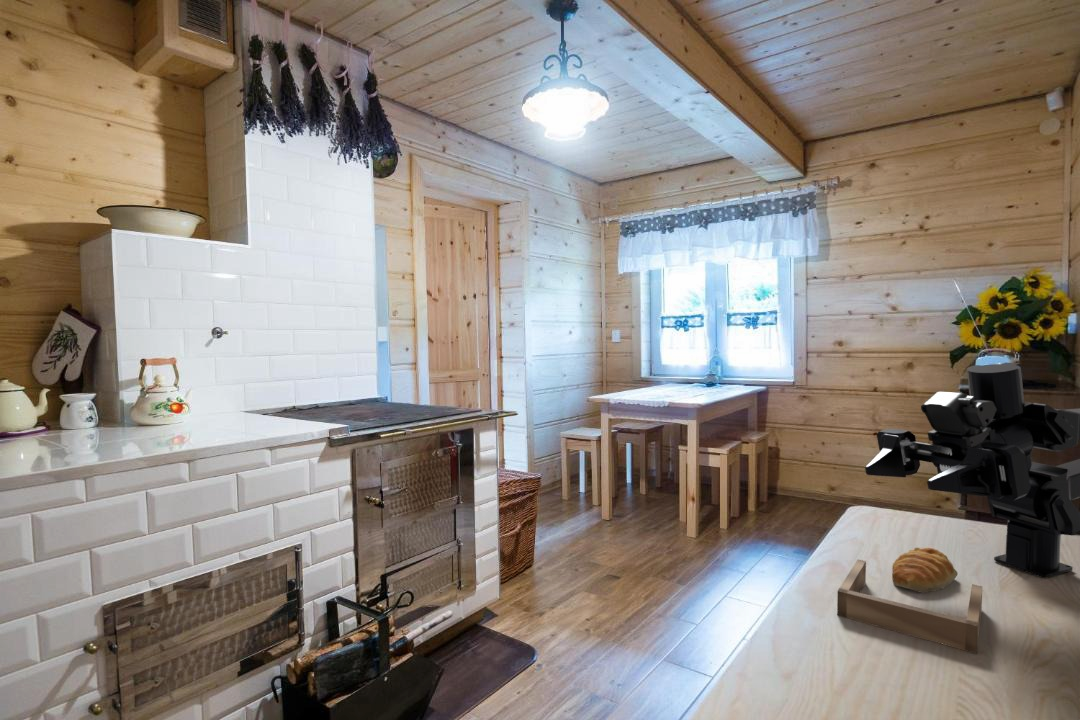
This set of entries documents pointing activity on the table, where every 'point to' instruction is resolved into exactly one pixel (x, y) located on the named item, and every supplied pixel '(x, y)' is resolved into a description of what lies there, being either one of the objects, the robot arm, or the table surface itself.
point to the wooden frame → (909, 614)
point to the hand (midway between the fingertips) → (895, 477)
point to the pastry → (923, 570)
